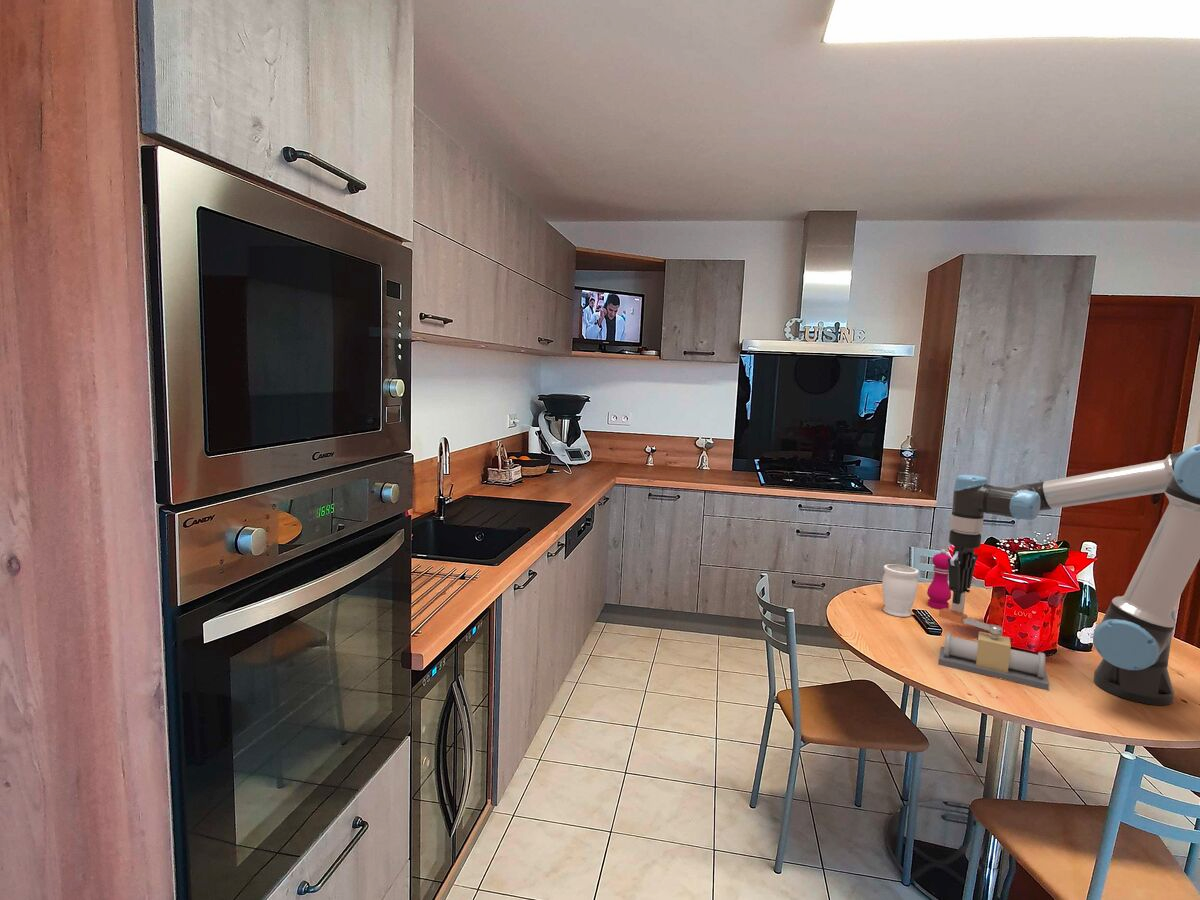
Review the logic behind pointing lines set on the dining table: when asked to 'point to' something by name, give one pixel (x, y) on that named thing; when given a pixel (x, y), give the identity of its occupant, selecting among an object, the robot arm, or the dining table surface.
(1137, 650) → the robot arm
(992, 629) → the valve lever
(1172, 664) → the dining table surface
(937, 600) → the pepper mill
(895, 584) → the jar
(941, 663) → the valve
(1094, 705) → the dining table surface
